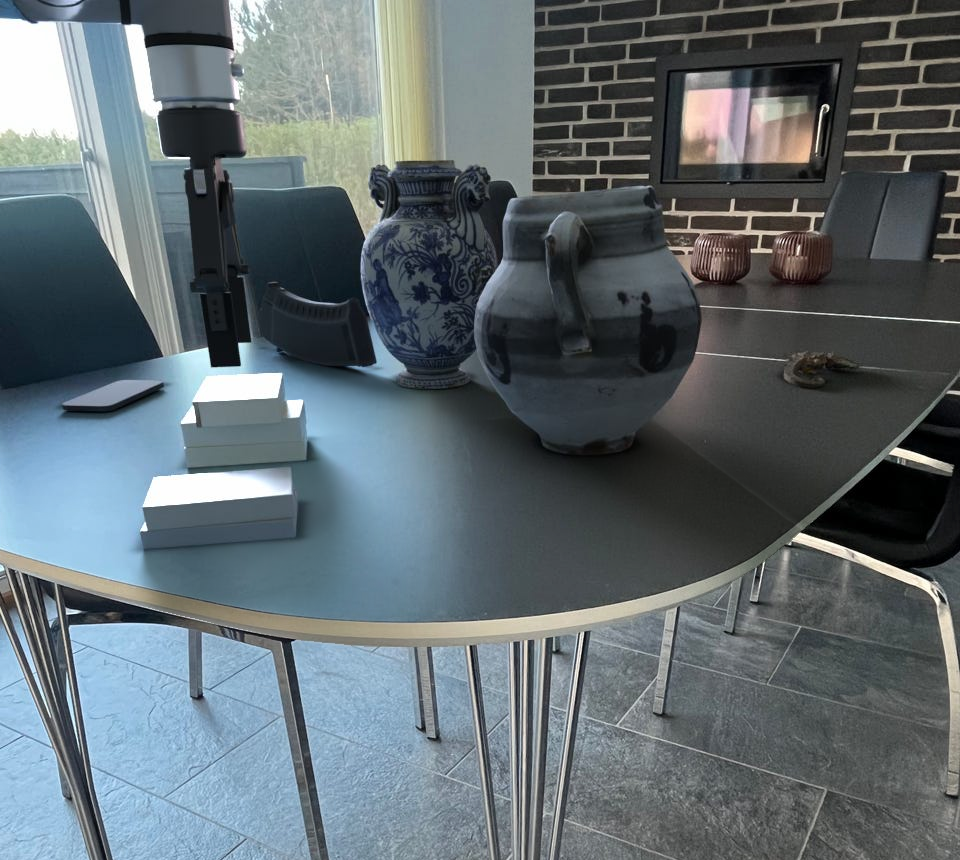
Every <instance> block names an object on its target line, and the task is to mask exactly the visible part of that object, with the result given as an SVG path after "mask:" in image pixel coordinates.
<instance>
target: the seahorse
mask: <svg viewBox="0 0 960 860" xmlns="http://www.w3.org/2000/svg"><path fill="white" fill-rule="evenodd" d="M785 361H786V362H787V363H784V368H783V369H784V372H783V376H782V377H783V378H784V380H785V381H787V383H789V384H792V385H794V386H798V387H803V388H807V389H808V388H811V389H813V388H814V389H815V388H820V387H823V386H824V385H825V383H826V380H825V379H823V378H822V377H815V376H816V375H818V372H819V371H820V370H822V369H827V370H829V371H830V370H831V369H837V370H839V369H840V370H841V369H842V370H843V371H844V369H848V368H849V369H850V370H858V369H859V368H860V366H859V365H858V364H855V363H853V362H854V361H855V360H851V359H849V358H848V356H846V357H845V356H843V355H839V354H836V353H835V351H832V352H829V353H825V351H822V352H816V351H812V350H811V349H810V348H809V349H808V350H806V351H804V352H801V351H799V350H797V353H796V352H795V353H794V354H792V355H788V358H786V359H785ZM817 371H818V372H817ZM796 372H800V373H801V374H802V375H803V376H805V377H807V378H811V379H805V378H801V377H799V376H798V375H795V373H796ZM812 377H813V378H812Z"/></svg>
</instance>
